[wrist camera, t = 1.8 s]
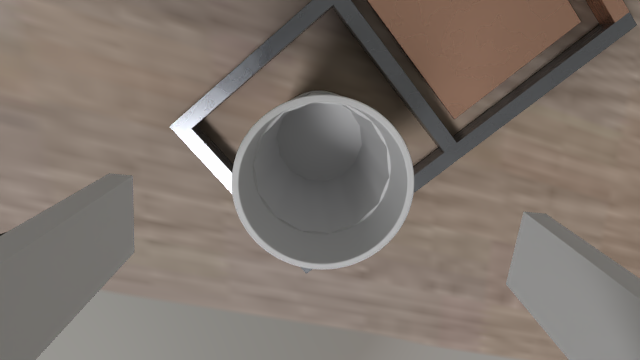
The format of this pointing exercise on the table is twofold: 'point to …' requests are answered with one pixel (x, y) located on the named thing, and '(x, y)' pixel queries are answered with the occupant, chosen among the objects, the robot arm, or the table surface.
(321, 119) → the cup
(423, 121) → the two-slot metal tray
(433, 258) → the table surface
